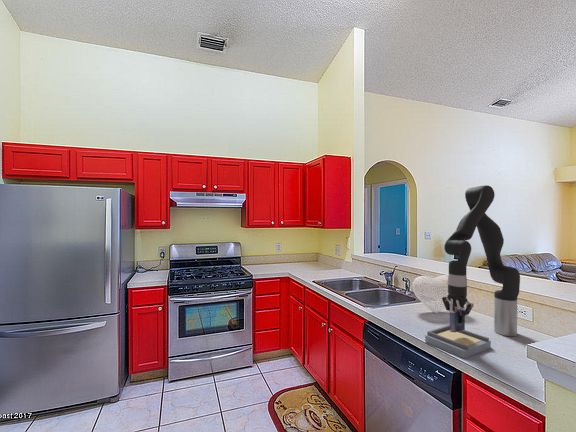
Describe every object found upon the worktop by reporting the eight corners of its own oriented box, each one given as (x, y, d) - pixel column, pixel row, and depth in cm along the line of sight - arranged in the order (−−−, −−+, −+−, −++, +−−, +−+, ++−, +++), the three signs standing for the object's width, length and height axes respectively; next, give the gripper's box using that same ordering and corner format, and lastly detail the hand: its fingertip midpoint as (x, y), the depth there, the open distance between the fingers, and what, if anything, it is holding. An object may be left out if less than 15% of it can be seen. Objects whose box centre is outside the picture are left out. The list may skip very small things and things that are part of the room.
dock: (451, 333, 147) (451, 324, 147) (490, 347, 131) (490, 337, 131) (425, 341, 137) (425, 332, 137) (464, 358, 121) (464, 347, 121)
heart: (421, 318, 168) (422, 279, 168) (407, 309, 183) (407, 273, 183) (466, 315, 172) (466, 277, 172) (448, 307, 187) (448, 272, 187)
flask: (453, 333, 131) (453, 308, 131) (447, 330, 133) (447, 306, 133) (466, 329, 135) (466, 305, 135) (460, 327, 137) (460, 304, 137)
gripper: (478, 286, 130) (477, 325, 130) (447, 280, 142) (447, 316, 142) (468, 288, 126) (468, 329, 126) (437, 281, 138) (437, 318, 138)
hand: (457, 321), depth 134 cm, fingers closed on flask, 3 cm apart
